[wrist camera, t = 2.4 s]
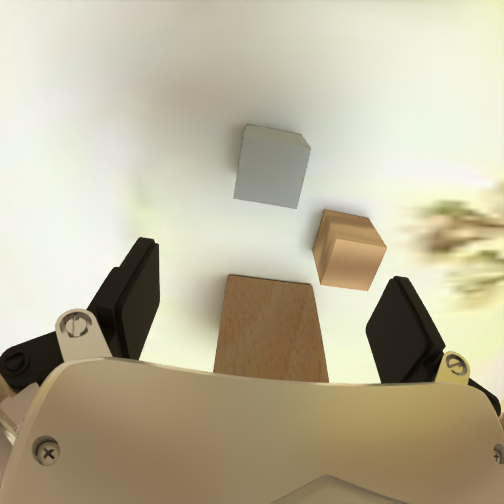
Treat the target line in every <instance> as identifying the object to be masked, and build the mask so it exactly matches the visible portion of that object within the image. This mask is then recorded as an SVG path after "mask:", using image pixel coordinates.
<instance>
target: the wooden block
mask: <svg viewBox="0 0 504 504" xmlns="http://www.w3.org/2000/svg"><path fill="white" fill-rule="evenodd" d="M213 373H219V374H227V375H235V376H243V377H252V378H262V379H273V380H285V381H299V382H317V383H329V378H328V372H327V365H326V359H325V353H324V347H323V341H322V335H321V330H320V324H319V319H318V313H317V308H316V302H315V297H314V292H313V287H312V286H311V285H306V284H297V283H289V282H281V281H272V280H264V279H257V278H249V277H241V276H234V275H231V276H229V277H228V279H227V284H226V291H225V297H224V303H223V310H222V316H221V323H220V329H219V336H218V342H217V349H216V356H215V363H214V370H213Z"/></svg>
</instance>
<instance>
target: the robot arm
mask: <svg viewBox="0 0 504 504" xmlns="http://www.w3.org/2000/svg"><path fill="white" fill-rule="evenodd" d="M159 302H160V283H159V244H157V243H155V241H154V239H150V238H143V237H139V238H138V240H137V241H136V243H135V244H134V245H133V247H132V248H131V250H130V251H129V253H128V254H127V256H126V257H125V259H124V260H123V262H122V264H121V265H120V267H114V268H113V269H112V270H111V272H110V273H109V275H108V276H107V278H106V279H105V281H104V282H103V284H102V285H101V287H100V289H99V290H98V292H97V293H96V295H95V296H94V298H93V300H92V301H91V303H90V305H89V306H88V308H87V309H86V310H85V309H71V310H69V311H66V312H65V313H63V314H62V315H60V317H59V318H58V319H57V321H56V324H55V330H56V331H54V332H51V333H48V334H46V335H43V336H40V337H37V338H35V339H32V340H29V341H26V342H24V343H21V344H18V345H16V346H13V347H11V348H9V349H7V350H6V351H5V352H4V353H3V354H2V355H1V357H0V504H504V414H502V415H500V414H501V406H500V403H499V400H498V398H497V397H496V396H494V395H493V394H492V393H490V392H489V391H487V390H486V389H485V388H483V387H482V386H480V385H479V384H477V383H476V382H475V381H473V380H472V379H470V378H469V375H470V367H469V364H468V363H467V361H466V360H465V359H464V357H462V356H461V355H460V354H458V353H456V352H452V351H449V352H446V353H445V354H444V353H443V349H444V348H445V347H446V345H445V343H444V341H443V339H442V338H441V336H440V334H439V332H438V330H437V328H436V326H435V324H434V322H433V320H432V319H431V317H430V315H429V313H428V311H427V310H426V308H425V306H424V304H423V302H422V301H421V299H420V297H419V296H418V294H417V292H416V290H415V289H414V287H413V285H412V284H411V282H410V280H409V279H408V278H406V277H400V276H394V277H393V279H390V280H389V282H388V284H387V286H386V288H385V290H384V292H383V294H382V296H381V298H380V300H379V302H378V304H377V306H376V308H375V310H374V312H373V314H372V316H371V318H370V320H369V321H368V323H367V325H366V335H367V338H368V341H369V344H370V347H371V351H372V354H373V357H374V360H375V363H376V367H377V370H378V373H379V377H380V380H381V384H350V383H317V382H299V381H285V380H273V379H262V378H252V377H243V376H235V375H227V374H219V373H212V372H206V371H199V370H193V369H186V368H180V367H174V366H168V365H163V364H157V363H152V362H145V361H139V358H140V355H141V352H142V349H143V346H144V344H145V341H146V338H147V336H148V333H149V330H150V328H151V325H152V322H153V320H154V317H155V314H156V312H157V309H158V307H159ZM21 421H23V422H22V424H21V426H20V429H19V431H18V434H17V437H16V429H17V426H18V425H19V424H20V423H21ZM52 448H53V449H54V450H52Z"/></svg>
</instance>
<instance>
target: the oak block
mask: <svg viewBox="0 0 504 504" xmlns="http://www.w3.org/2000/svg"><path fill="white" fill-rule="evenodd" d="M386 249H387V247H386V245H385V244H384V242H383V240H382V239H381V237H380V236H379V234H378V232H377V231H376V229H375V228H374V226H373V225H372V223H371V221H370V220H369V218H365V217H360V216H355V215H350V214H345V213H341V212H335V211H330V210H325V209H324V213H323V216H322V220H321V223H320V227H319V230H318V233H317V237H316V240H315V243H314V247H313V250H312V251H313V255H314V260H315V264H316V268H317V272H318V276H319V281H320V285H325V286H333V287H341V288H348V289H356V290H364V291H368V290H369V288H370V286H371V283H372V281H373V279H374V277H375V275H376V272H377V270H378V268H379V266H380V263H381V261H382V259H383V256H384V254H385V252H386Z"/></svg>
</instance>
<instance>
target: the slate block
mask: <svg viewBox="0 0 504 504" xmlns="http://www.w3.org/2000/svg"><path fill="white" fill-rule="evenodd" d="M310 150H311V148H310V146H309V145H308V143H307V142H306V140H305V139H304V138H303V136H302V135H301V134H298V133H293V132H288V131H282V130H277V129H271V128H266V127H260V126H253V125H247V126H246V129H245V132H244V135H243V139H242V146H241V152H240V158H239V165H238V171H237V178H236V185H235V191H234V198H233V199H240V200H246V201H253V202H259V203H265V204H271V205H277V206H283V207H288V208H294V209H297V205H298V201H299V197H300V193H301V189H302V184H303V180H304V176H305V172H306V168H307V163H308V159H309V155H310Z"/></svg>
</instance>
